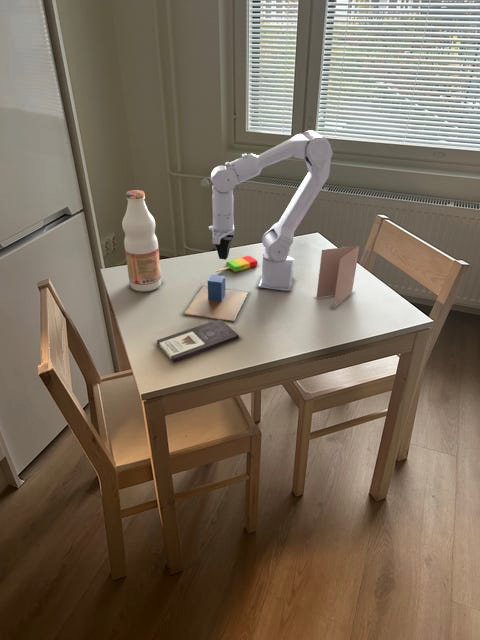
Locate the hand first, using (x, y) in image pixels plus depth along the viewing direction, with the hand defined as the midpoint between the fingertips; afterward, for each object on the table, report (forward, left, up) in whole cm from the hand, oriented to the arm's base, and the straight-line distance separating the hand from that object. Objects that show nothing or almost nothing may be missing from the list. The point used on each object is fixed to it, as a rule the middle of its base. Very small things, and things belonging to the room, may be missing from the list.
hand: (223, 258), depth 131 cm
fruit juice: (+23, +5, -10) cm, 25 cm away
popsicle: (0, -13, -10) cm, 16 cm away
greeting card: (-34, -1, -10) cm, 35 cm away
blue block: (0, +7, -9) cm, 11 cm away
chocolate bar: (-2, +29, -9) cm, 30 cm away
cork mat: (-1, +10, -9) cm, 14 cm away
